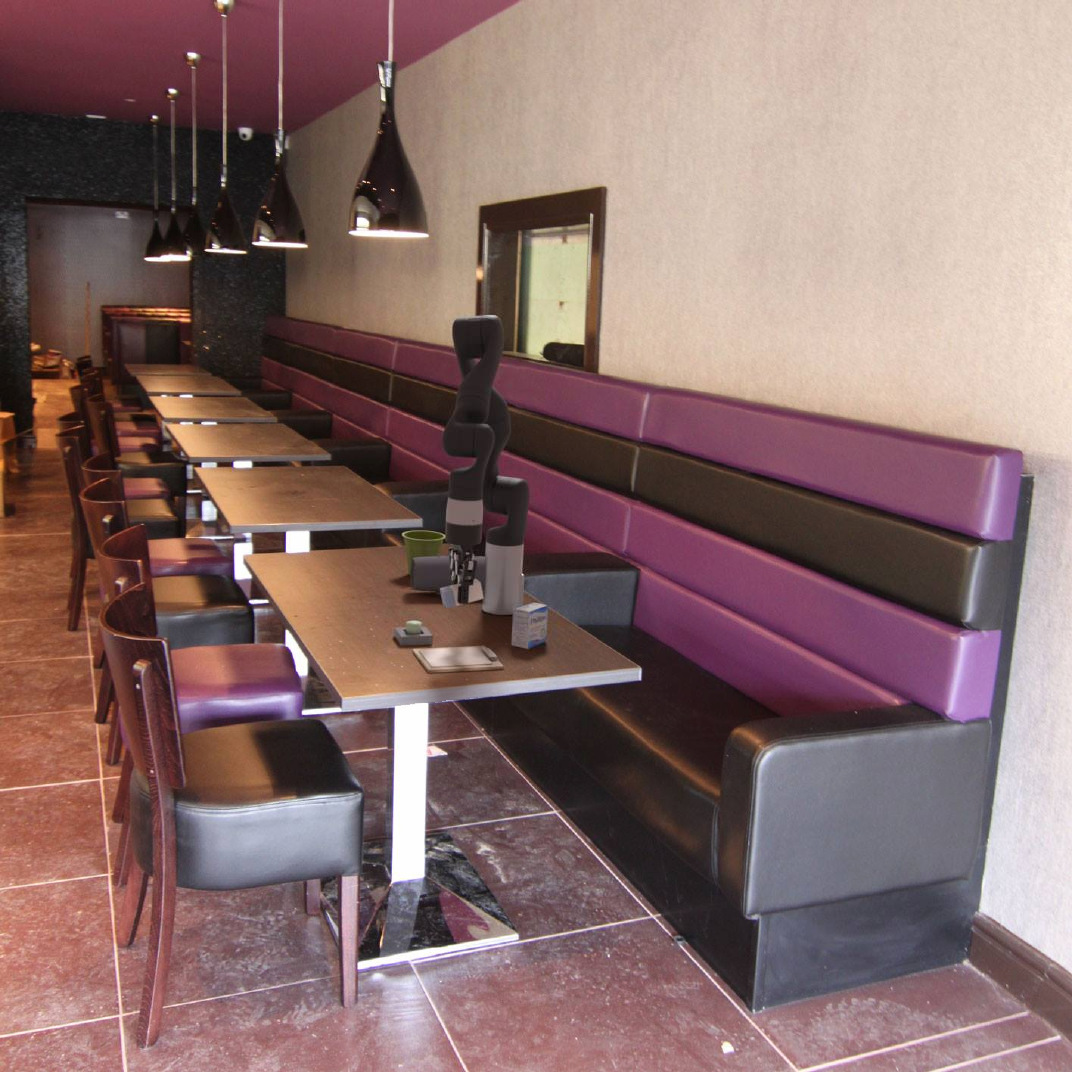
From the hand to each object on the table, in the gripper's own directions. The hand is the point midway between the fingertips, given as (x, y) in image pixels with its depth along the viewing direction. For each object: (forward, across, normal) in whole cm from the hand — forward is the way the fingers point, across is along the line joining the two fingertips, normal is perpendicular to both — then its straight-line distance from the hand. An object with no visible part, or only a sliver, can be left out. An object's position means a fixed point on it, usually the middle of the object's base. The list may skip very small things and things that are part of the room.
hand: (460, 600), depth 233 cm
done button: (+12, +15, +6) cm, 20 cm away
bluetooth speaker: (+13, +53, -14) cm, 56 cm away
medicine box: (+13, +9, -19) cm, 25 cm away
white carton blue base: (0, 0, -1) cm, 1 cm away
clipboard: (+13, 0, 0) cm, 13 cm away
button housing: (+13, +15, +6) cm, 21 cm away
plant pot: (+13, +73, -10) cm, 75 cm away
